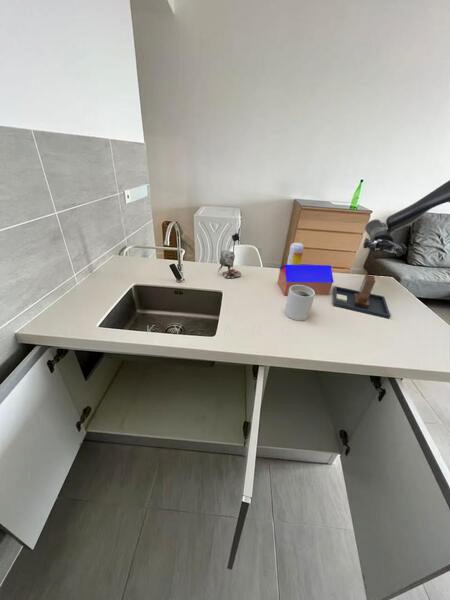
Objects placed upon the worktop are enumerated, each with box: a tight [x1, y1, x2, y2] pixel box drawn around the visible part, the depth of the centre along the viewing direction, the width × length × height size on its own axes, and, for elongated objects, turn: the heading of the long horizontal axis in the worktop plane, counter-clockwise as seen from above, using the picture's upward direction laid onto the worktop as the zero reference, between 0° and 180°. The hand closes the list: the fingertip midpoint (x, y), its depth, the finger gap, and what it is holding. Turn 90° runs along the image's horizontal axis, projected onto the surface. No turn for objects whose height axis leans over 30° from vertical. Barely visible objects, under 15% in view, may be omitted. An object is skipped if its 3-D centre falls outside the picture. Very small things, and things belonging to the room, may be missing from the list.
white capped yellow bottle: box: [286, 242, 305, 265], centre depth 118 cm, size 6×6×15 cm
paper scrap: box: [336, 294, 347, 302], centre depth 101 cm, size 4×4×1 cm
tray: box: [332, 286, 391, 320], centre depth 99 cm, size 20×16×2 cm
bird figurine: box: [217, 232, 242, 279], centre depth 111 cm, size 8×11×20 cm
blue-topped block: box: [277, 264, 335, 297], centre depth 105 cm, size 12×20×12 cm, turn 94°
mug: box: [284, 285, 315, 321], centre depth 89 cm, size 11×10×10 cm
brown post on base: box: [353, 274, 376, 309], centre depth 96 cm, size 5×8×12 cm, turn 158°
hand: (386, 251), depth 90 cm, fingers open, 8 cm apart
